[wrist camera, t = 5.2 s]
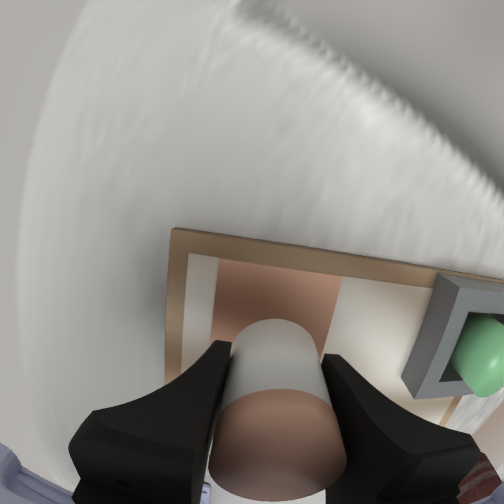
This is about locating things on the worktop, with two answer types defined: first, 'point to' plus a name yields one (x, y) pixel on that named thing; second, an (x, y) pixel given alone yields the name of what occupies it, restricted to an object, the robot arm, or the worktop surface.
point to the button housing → (447, 334)
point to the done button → (480, 354)
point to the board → (301, 305)
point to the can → (479, 482)
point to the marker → (276, 418)
